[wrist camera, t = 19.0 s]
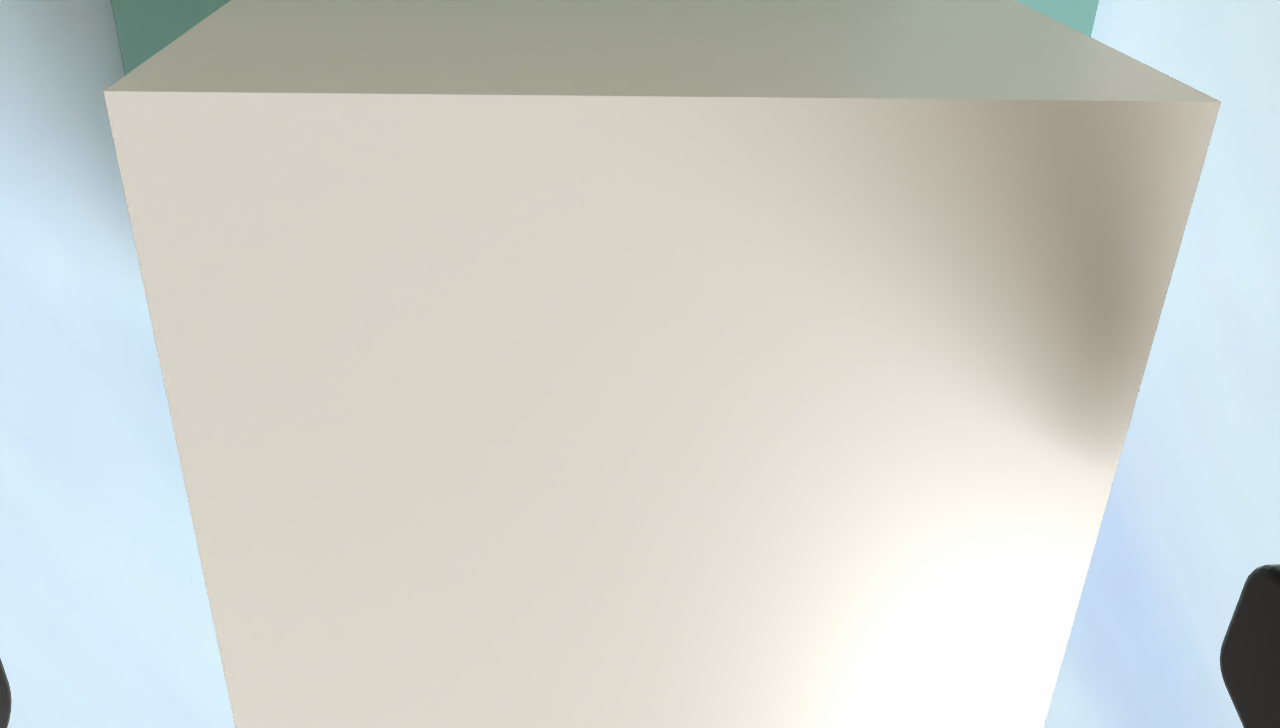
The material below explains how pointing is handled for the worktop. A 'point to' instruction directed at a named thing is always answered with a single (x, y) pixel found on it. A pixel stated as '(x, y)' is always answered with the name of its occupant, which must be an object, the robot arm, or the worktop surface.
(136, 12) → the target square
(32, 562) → the worktop surface
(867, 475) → the plain beige box
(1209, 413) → the worktop surface
